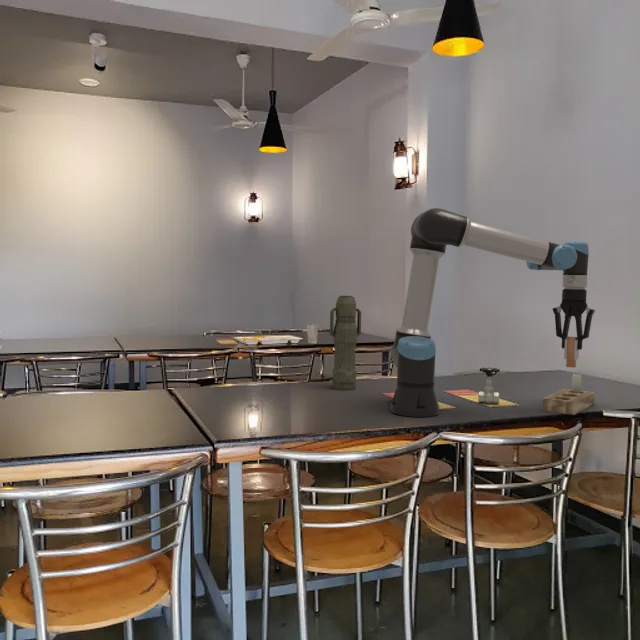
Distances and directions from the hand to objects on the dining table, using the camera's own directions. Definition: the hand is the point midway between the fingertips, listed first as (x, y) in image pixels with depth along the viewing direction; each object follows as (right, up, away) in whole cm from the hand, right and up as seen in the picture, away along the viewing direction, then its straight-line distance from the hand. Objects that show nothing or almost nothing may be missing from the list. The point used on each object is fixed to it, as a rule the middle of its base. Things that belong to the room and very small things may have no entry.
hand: (571, 358), depth 213 cm
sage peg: (+4, -16, +7) cm, 18 cm away
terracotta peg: (0, -3, 0) cm, 3 cm away
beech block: (0, -16, +1) cm, 16 cm away
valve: (-27, -16, +5) cm, 31 cm away
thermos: (-75, -13, +29) cm, 81 cm away
